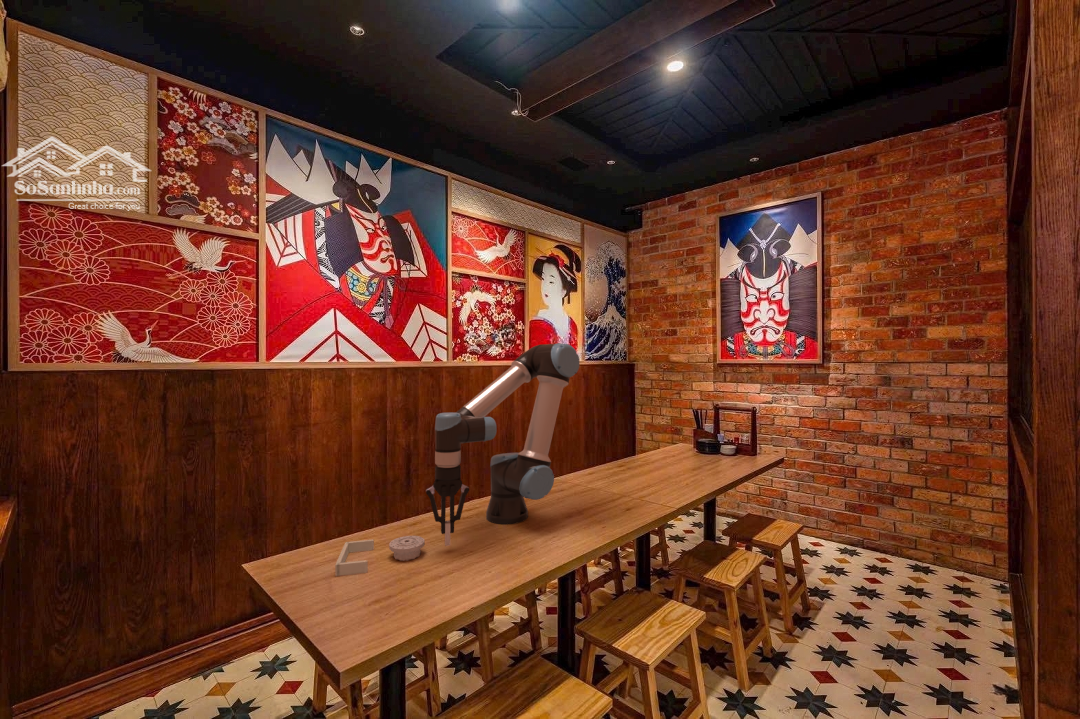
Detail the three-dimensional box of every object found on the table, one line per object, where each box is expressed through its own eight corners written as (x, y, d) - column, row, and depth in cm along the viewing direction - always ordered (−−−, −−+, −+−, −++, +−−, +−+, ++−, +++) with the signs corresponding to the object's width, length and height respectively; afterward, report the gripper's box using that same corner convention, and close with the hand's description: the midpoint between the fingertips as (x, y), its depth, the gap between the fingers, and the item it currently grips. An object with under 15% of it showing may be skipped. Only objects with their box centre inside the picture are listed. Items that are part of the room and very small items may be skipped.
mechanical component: (395, 534, 139) (427, 534, 139) (395, 549, 139) (428, 548, 139) (384, 548, 129) (420, 547, 129) (384, 563, 129) (420, 563, 129)
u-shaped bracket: (373, 549, 139) (373, 539, 139) (367, 572, 124) (367, 561, 124) (345, 552, 137) (345, 542, 137) (335, 576, 122) (335, 565, 122)
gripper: (468, 461, 142) (468, 537, 142) (425, 463, 139) (425, 541, 139) (471, 466, 135) (470, 546, 135) (425, 468, 132) (425, 551, 132)
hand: (447, 543), depth 137 cm, fingers closed
